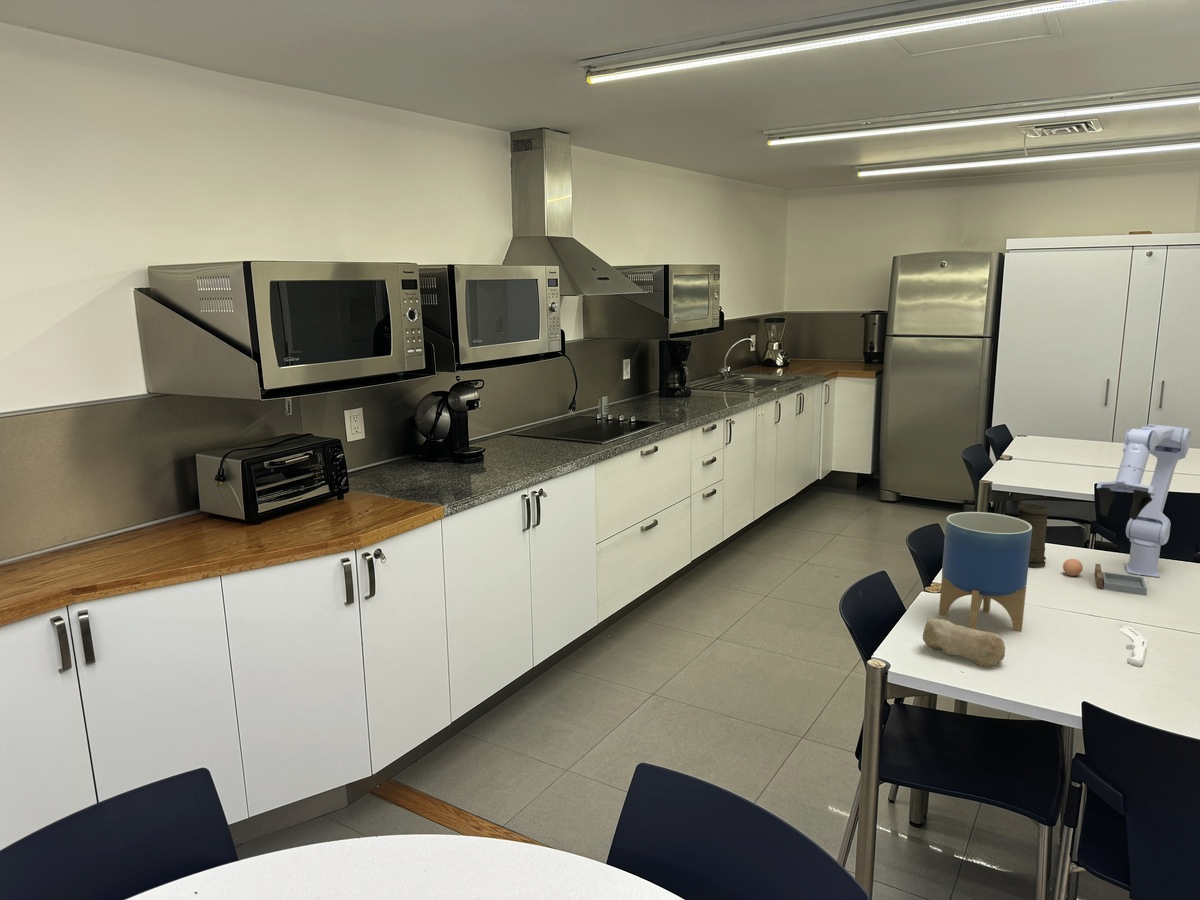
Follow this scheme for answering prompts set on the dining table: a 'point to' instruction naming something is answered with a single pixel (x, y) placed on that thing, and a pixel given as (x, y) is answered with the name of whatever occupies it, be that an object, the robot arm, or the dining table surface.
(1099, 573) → the rail
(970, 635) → the tan rounded lump
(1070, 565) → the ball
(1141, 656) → the knife
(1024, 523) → the planter
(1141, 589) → the tray
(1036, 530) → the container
